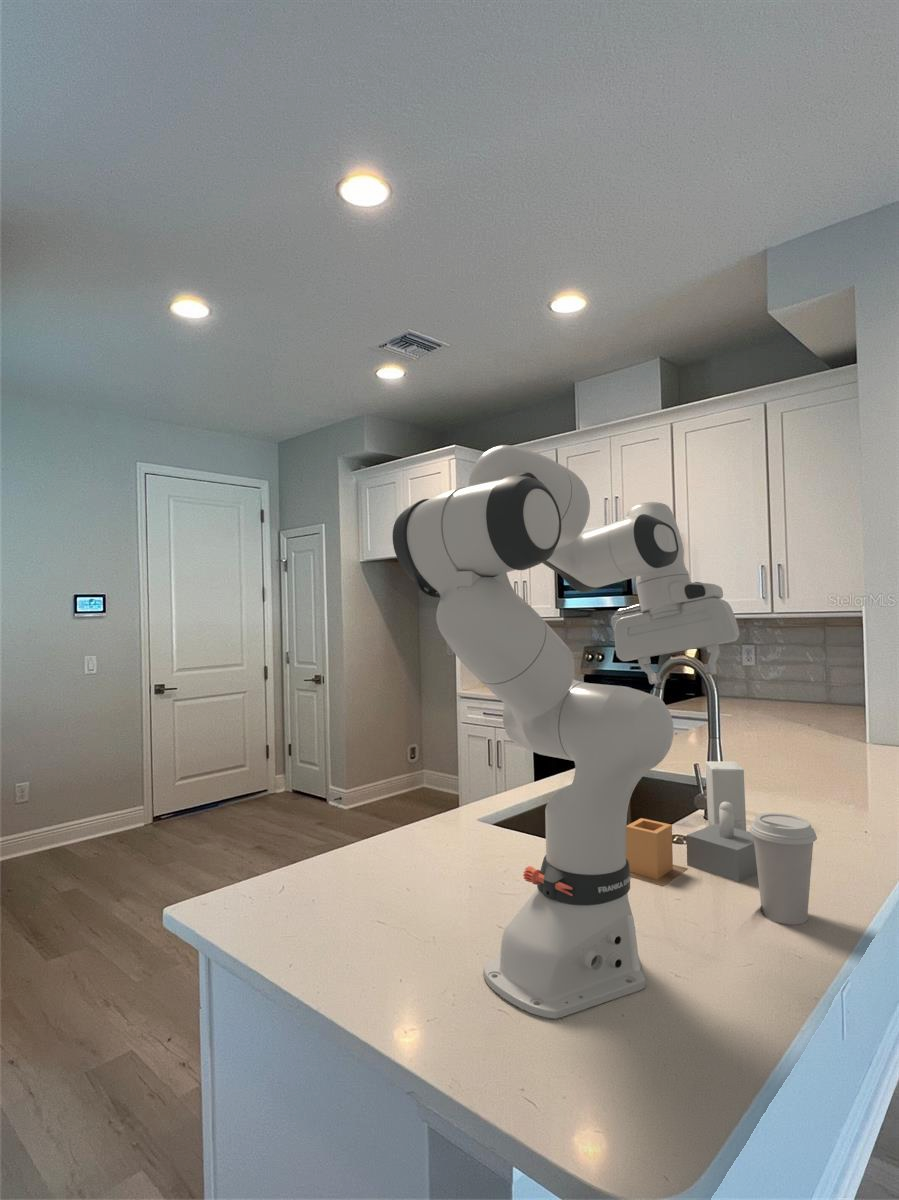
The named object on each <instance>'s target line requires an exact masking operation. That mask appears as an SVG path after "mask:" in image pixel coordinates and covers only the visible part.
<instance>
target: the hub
mask: <svg viewBox="0 0 899 1200" xmlns="http://www.w3.org/2000/svg"><path fill="white" fill-rule="evenodd" d="M719 820H720V824H718V823H717V824H714V825H712V826H709V827H708V826H707V827H704V828H701V829H699V830H696V831H693V832H690V833H688V834H686V866H688V867H691V868H694V869H696V870H699V871H703V872H706V873H709V874H711V875H714V876H718V877H721V878H724V879H726V880H730V881H733V882H735V883H740V882H742V881H745V880H746V879H749V878H750V877H753V876H755V875H756V874H757V875H758V872H757V863H756V854H755V846H754V837H753V834H751V832H750V831H747V830H746V831H744V830H740V829H736V828H734V809H733V806H732V804H731V803H729V802H722V803H721V804H720V806H719Z"/></svg>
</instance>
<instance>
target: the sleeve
mask: <svg viewBox="0 0 899 1200" xmlns="http://www.w3.org/2000/svg"><path fill="white" fill-rule="evenodd" d="M626 859H627V860H628V861H629V868H630V872H633V873H636V874H640V875H643V876H647V877H651V878H654V879H659V878H660V877H662V876H663V875H665V874H666V873H668V872H669V871H671V870H672V869H673V865H674V863H673V860H674V859H673V825H672V824H669V823H665V822H660V821H656V820H652V819H648V818H642V817H640V818H638V819H637V820H635V821H633V822H631V823H629V824H626Z"/></svg>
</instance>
